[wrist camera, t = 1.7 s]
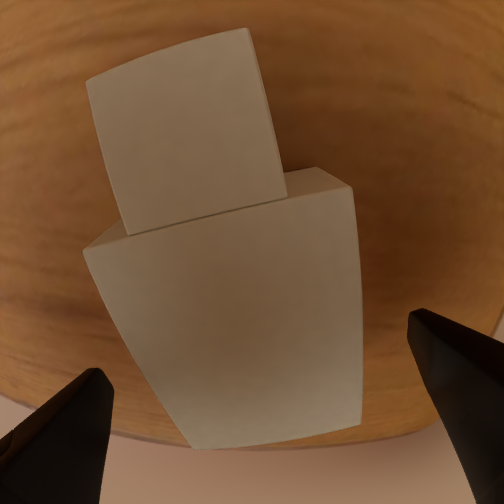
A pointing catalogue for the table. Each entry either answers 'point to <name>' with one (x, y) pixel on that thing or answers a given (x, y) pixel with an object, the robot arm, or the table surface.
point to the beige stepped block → (225, 252)
